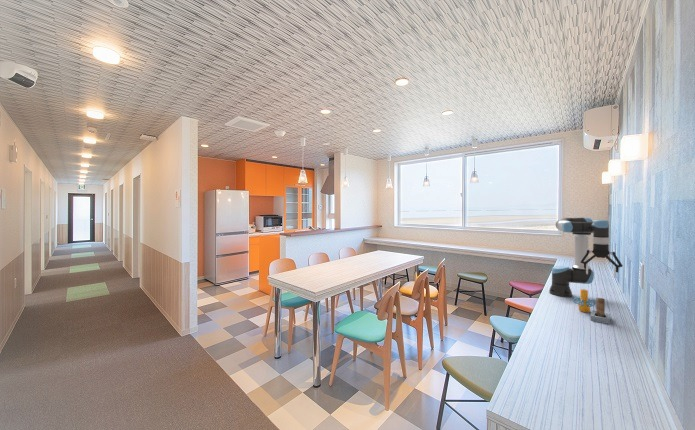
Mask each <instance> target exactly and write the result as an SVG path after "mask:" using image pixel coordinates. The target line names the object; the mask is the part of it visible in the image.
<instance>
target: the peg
mask: <svg viewBox="0 0 695 430" xmlns="http://www.w3.org/2000/svg"><path fill="white" fill-rule="evenodd" d="M595 302H596V304H595V307H596V308H595V311H596V316H600V317H605V313H606V309H605V308H606V307H605V306H606V305H605V304H606V303H605V302H606V299H605V298H603V297H596V300H595Z"/></svg>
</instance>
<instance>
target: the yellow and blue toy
mask: <svg viewBox="0 0 695 430" xmlns="http://www.w3.org/2000/svg"><path fill="white" fill-rule="evenodd" d="M579 291H580V296H578V297H574V298H573V299H572V302H573V303H575V305H576V304H577V305H578V310H579V312H583V313H591V311H590V310H591V307H592V306H593V307H594V306H596V300H595V299H589V290H588V289H586V288H585V289H584V288H580V290H579ZM575 300H577V302H576V301H575ZM591 301H592V302H593V303H592V302H591Z"/></svg>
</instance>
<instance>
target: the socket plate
mask: <svg viewBox="0 0 695 430" xmlns="http://www.w3.org/2000/svg"><path fill="white" fill-rule="evenodd" d="M590 321H592V322H597V323H601V324H606V323H608V324H607V325H610V324H611V313H607V312H605V317H600V316H596V310H591V312H590Z"/></svg>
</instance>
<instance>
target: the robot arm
mask: <svg viewBox="0 0 695 430" xmlns="http://www.w3.org/2000/svg"><path fill="white" fill-rule="evenodd" d="M609 223H610V221H609V220H607V219H595V220H593V219H592V218H590V217H563V218H559V219H558V220H557V221H556V222H555V228H556V229H558V231H561V232H564V233H569V234H570V233H571V234H572V235H573V236H574V264H573V265H572V268H570V267H569V266H567V265H558V266H557V265H556V266H553V267H552V268H551V285H550V287H549V291H548V293H549V294H551V295H553V294H554V296H557V297H568V298H569V297H572V296H573V292H572V288H571V287H570V284H571V283H573V284H583V285H589V284H590V285H591V284H592V283H593V281H594V279H595V272H594V270H593V269H592V268H591V267H590V265H589V262H591V261H592V260H593V259H594V258H601V259H607V260H608V261H609V262H610V263H611V264H613V266H614V271H613V273H614V274H613V275H614V276H613V278H617V273H619V271H620V270H619V268H623V264H622V262H621V260H620V259H619V258H618V256H617V253H616V251H610V249H609V247H610V245H609V243H610V235H609V233H610V231H609V230H610V224H609ZM592 234H593V236H592V244H593V245H592V250H590V249H589V246H590V245H589V240H590V236H591V235H592ZM591 253H592V256H591V257H589V254H591ZM609 255H611V256H613V258H614V259H615V261H614V260H613V259H612V258H611V257H610V256H609ZM616 262H617V263H616Z"/></svg>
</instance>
